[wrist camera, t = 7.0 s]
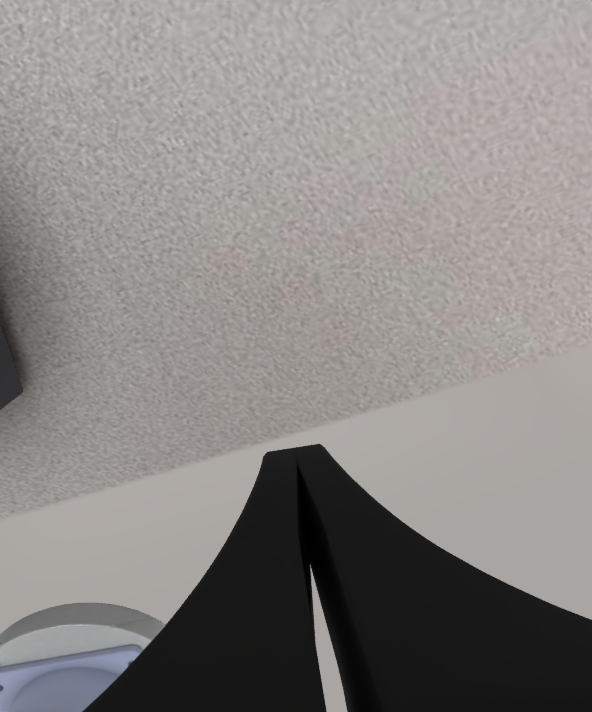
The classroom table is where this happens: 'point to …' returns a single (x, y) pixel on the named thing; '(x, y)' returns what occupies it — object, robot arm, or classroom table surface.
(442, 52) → the classroom table surface
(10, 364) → the drawer
